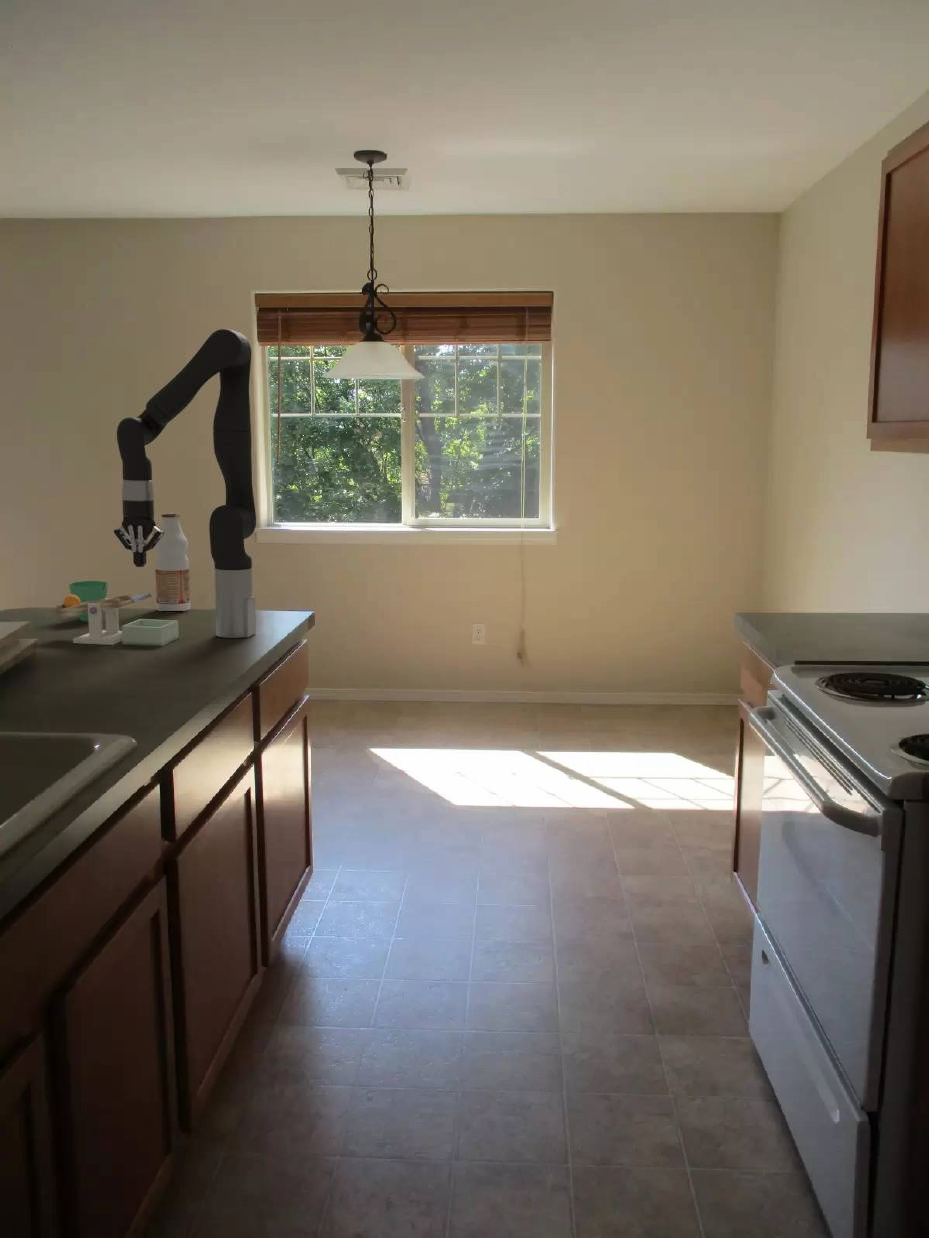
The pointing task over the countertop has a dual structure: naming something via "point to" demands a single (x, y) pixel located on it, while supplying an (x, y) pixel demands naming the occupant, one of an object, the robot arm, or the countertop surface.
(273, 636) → the countertop surface
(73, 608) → the lever
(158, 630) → the pale green tray
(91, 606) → the stand
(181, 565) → the fruit juice
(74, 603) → the ball
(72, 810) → the countertop surface
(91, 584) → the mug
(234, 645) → the countertop surface
